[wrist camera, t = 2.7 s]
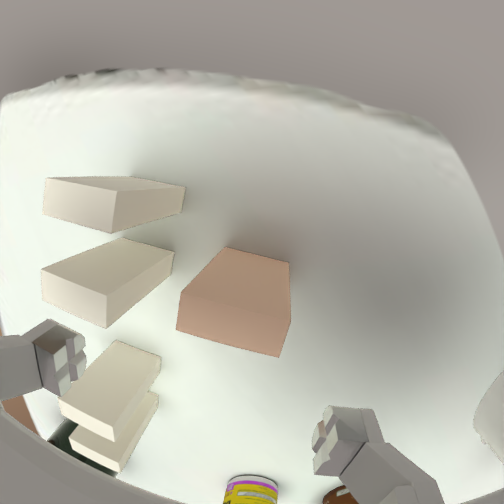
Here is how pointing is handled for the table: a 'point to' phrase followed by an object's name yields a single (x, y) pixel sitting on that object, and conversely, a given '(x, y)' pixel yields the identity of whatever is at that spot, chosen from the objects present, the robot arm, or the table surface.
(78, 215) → the domino
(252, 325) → the domino
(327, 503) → the food container
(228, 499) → the supplement bottle
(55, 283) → the domino
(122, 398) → the domino
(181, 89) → the table surface
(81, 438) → the domino
